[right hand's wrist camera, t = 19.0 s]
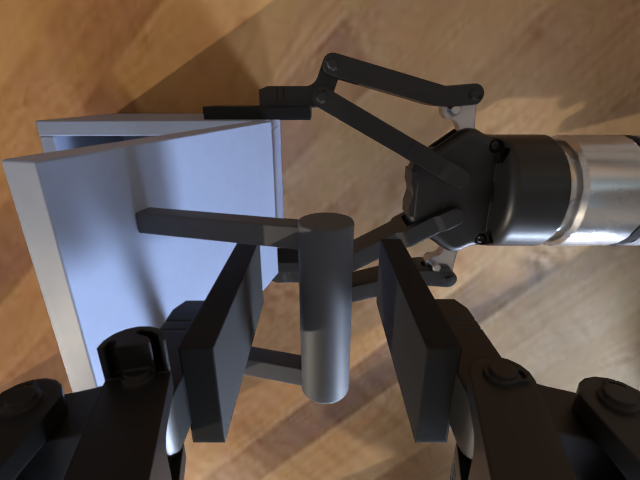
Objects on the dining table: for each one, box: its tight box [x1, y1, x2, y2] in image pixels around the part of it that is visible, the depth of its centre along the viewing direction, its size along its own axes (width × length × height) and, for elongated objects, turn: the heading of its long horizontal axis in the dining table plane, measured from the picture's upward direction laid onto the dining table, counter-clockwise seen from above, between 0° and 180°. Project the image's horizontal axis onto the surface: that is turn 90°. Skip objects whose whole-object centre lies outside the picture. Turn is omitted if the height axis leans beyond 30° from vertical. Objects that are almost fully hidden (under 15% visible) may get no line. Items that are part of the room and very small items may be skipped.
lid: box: [2, 121, 354, 404], centre depth 16 cm, size 14×10×8 cm
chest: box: [36, 113, 284, 248], centre depth 28 cm, size 14×10×9 cm
